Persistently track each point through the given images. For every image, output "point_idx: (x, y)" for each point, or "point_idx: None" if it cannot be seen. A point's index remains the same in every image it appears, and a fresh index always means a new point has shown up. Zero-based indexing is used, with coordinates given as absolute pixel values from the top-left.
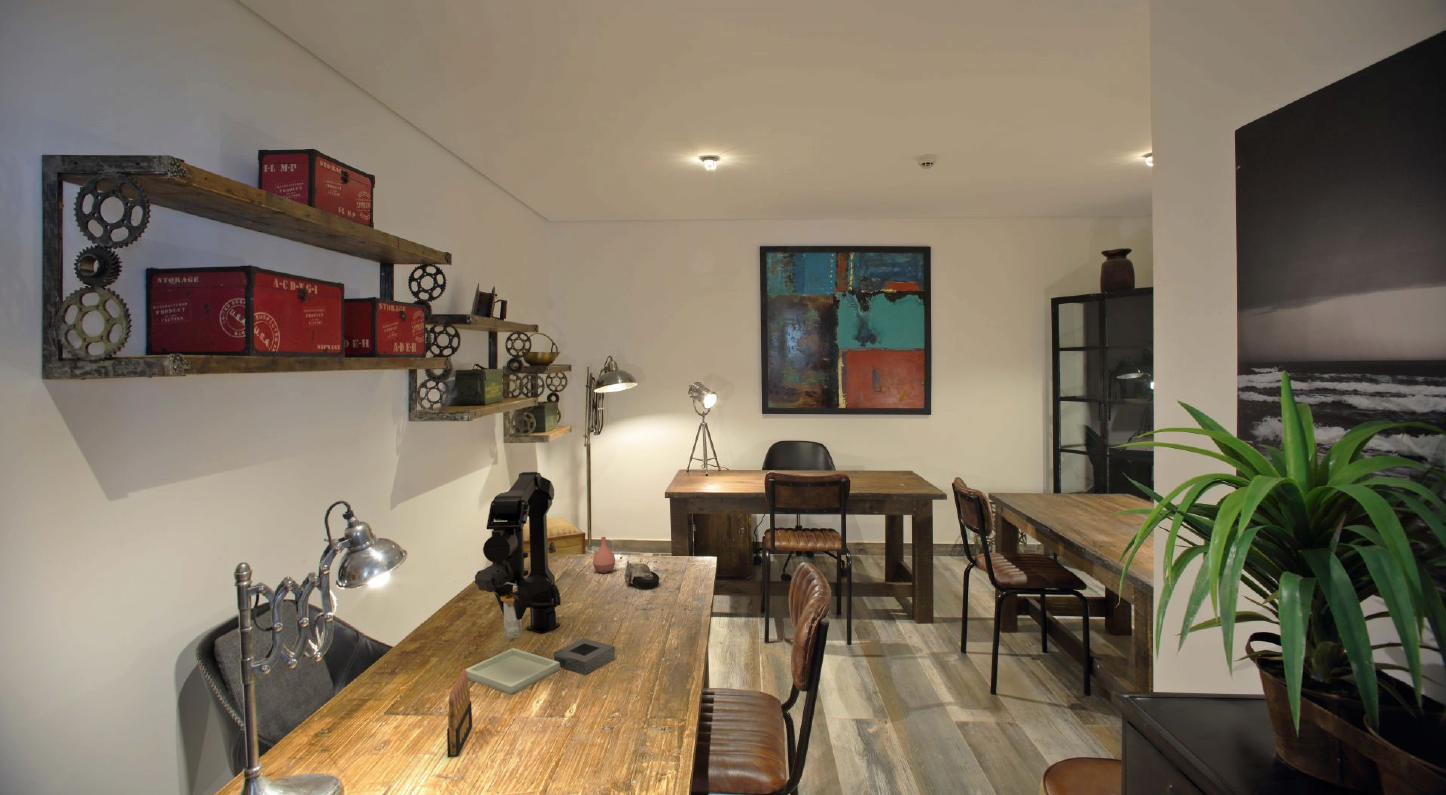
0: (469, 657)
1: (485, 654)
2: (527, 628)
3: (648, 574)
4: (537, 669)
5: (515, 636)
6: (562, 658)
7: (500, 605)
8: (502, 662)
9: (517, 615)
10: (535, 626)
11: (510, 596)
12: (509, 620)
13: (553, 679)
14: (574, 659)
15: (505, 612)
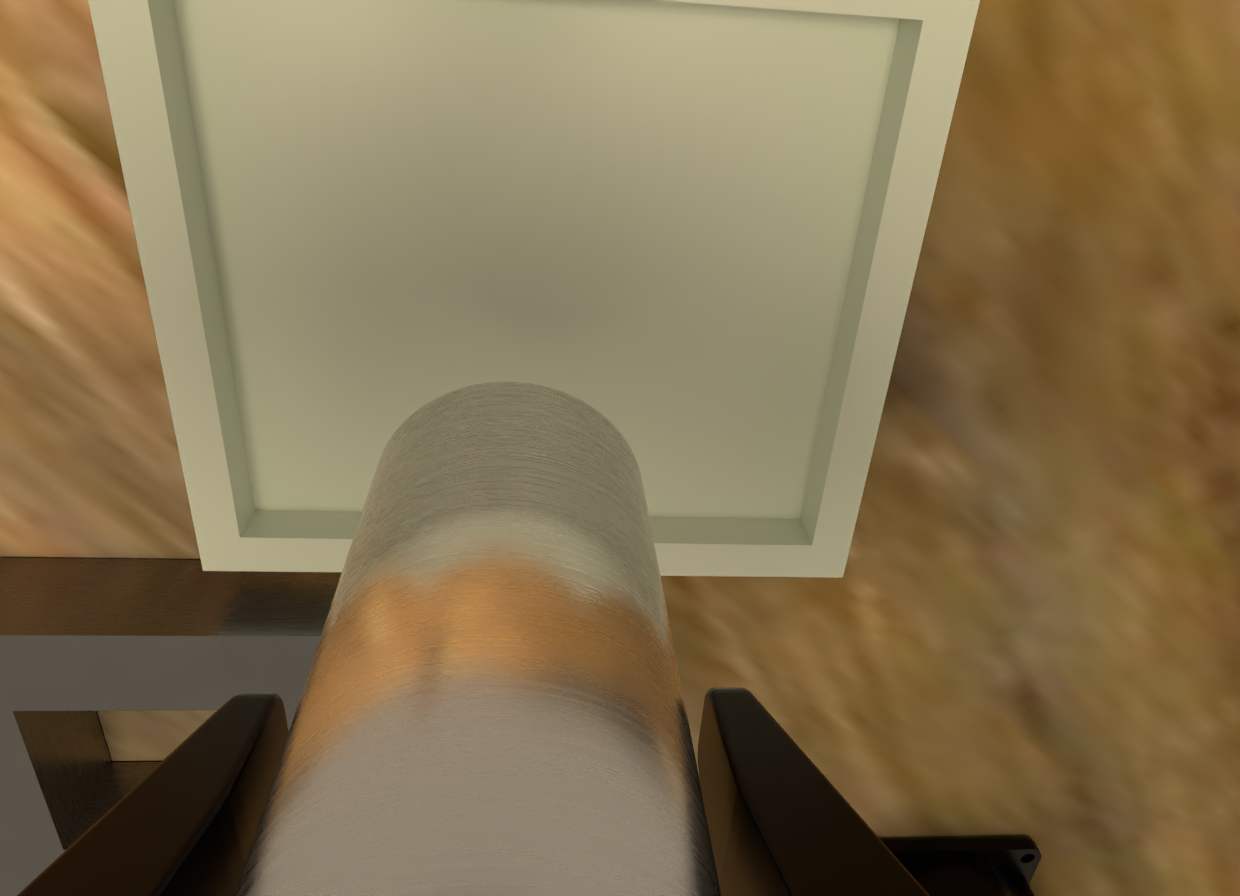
0: (1189, 338)
1: (1076, 444)
2: (1021, 845)
3: None
4: (353, 425)
5: (383, 462)
6: (206, 616)
7: (876, 892)
8: (778, 378)
9: (194, 769)
10: (957, 878)
11: None
12: (394, 590)
13: (103, 381)
14: (24, 632)
15: (498, 716)
